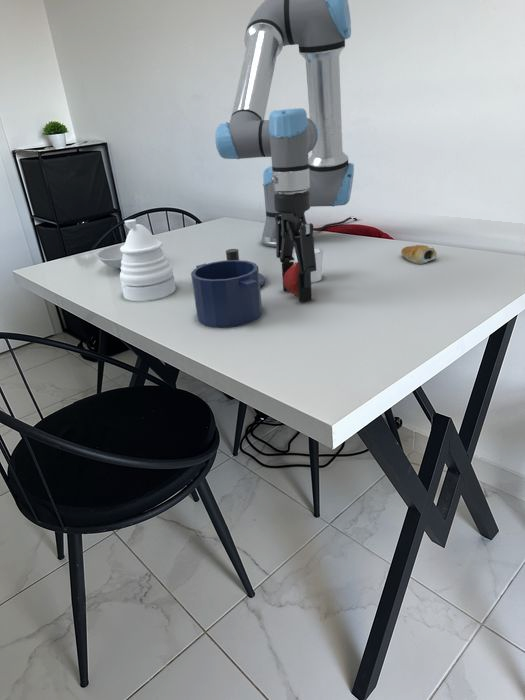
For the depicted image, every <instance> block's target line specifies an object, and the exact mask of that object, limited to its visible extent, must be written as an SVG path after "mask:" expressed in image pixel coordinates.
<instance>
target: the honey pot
mask: <svg viewBox="0 0 525 700" xmlns="http://www.w3.org/2000/svg"><path fill="white" fill-rule="evenodd" d="M124 225H125V226H126V228H127V229H129V230H128V234H127V235H126V239H125V242H124V244H125V245H123V246H121V248H120V251H121V252H122V253H123V257H122V261H121V264H122V266H121V268H120V273H119V279H120V280H119V281H120V285H121V291H122V295H123V298H124V299H126V300H127V301H130V302H131V301H133V302H148V301H153V300H159V299H162V298H165V297H168V296H170V295H171V294H173V293H174V292H175V291H176V288H177V286H176V281H175V276H174V269H173V267H172V265H171V264H170V263H169V260H168V259H167V255H166V253H164V251H163V249H162V247H163V242H162V241H160V240H159V239H156V238H155V236H154V235H153V233H152V232H151V231H150V230H149V229H148V228H147V227H145V225H143V224H140V223H137V220H136V219H127V220H124Z"/></svg>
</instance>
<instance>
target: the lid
mask: <svg viewBox="0 0 525 700" xmlns="http://www.w3.org/2000/svg"><path fill="white" fill-rule="evenodd" d="M225 256H226V260H240V255H239V249H237V248H229V249H226V250H225ZM265 280H266V278H265V275H264V274H262V273H260V272H259V281H260V286H262V285H263V284H264V283H265V282H266V281H265Z"/></svg>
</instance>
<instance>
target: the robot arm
mask: <svg viewBox="0 0 525 700" xmlns="http://www.w3.org/2000/svg"><path fill="white" fill-rule="evenodd" d="M351 36H352V22H351V13H350V6H349V0H263V1H262V3H261V4H260V5H259V6H258V7H257V9H256V10H255V11H254V12H253V14H252V16H251V17H250V19H249V21H248V23H247V26H246V29H245V34H244V41H243V42H244V46H245V53H244V58H243V61H242V65H241V70H240V71H241V72H240V75H239V80H238V85H237V89H236V95H235V98H234V102H233V107H232V111H231V116H230V120H229V122H227V121H226V122H224V123H219V124H218V125H217V127H216V129H215V135H214V136H215V137H214V142H215V147H216V150H217V152H218V155H219V156H220V157H221V158H222V159H224V160H241V159H255V158H256V159H257V158H271V166H268V167H266V168H265V169H264V171H263V174H262V176H263V177H262V178H263V184H262V186H263V195H264V196H263V197H264V206H265V222H264V225H263V231H262V235H261V243H262V245H264V246H266V247H271V248H276V258H277V259H279V262H280V263H281V275H282V290H283V292H289V291H288V290H287V289H286V288H285V286H284V275H285V273H286V271H287V270H288V269H289V268H290V267H291V266H292V265H293V264H294V263H295V262H294V261H295V258H294V256H293V254H294V253H293V251H296V256H297V261H298V265H299V270H300V271H298V272H297V274H298V288H299V296H298V301H299V302H300V303H304V302H308V301H311V300H312V299H313V298H312V282H311V272H312V271H316V260H315V251H314V248H315V242H314V232H320V231H322V230H324V229H326V228H328V227H332V226H338V225H342V224H344V223H346V222H348V221H350V220H354V221H358V219H357V217H355V218H353V219H352V218H351V217H352V216H349V217H347V218H346V219H344V220H341V221H338V222H330V223H327V224H324V225H323V226H321V227H319V228H314V224H313V223H312V222H310V223H308V222H307V220H306V216H305V214H306V212H307V211H309V210H310V209H311V208H312V207H333V208H334V207H338V206H346V205H347V204H348V203H349V202H350V199H351V196H352V195H351V194H352V189H353V182H354V174H355V173H354V172H355V164H354V163H351V162H349V155H347V154H346V152H344V151H343V125H342V123H343V122H342V121H343V120H342V100H341V99H342V97H341V96H342V95H341V94H342V92H341V66H340V55H341V53H342V52H343V51H344V49H345V48H346V40H348V39H350V38H351ZM294 45H297V46H298V54H299V55H300V56H301V57H303V59H304V60H305V71H306V85H307V97H308V98H307V100H308V101H307V102H308V114H307V111H306V109H305V108H302V107H301V108H300V107H299V108H285V109H277V110H272V111H271V112H270V113H269V115H268V119H265V117H266V111H267V106H268V101H269V97H270V93H271V87H272V81H273V76H274V70H275V67H276V62H277V57H278V56H279V55H280V54H281V52H282V50H283V48H284V47H286V46H294ZM308 115H309V116H308ZM310 152H311V155H310V156H309V153H310Z"/></svg>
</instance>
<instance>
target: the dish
mask: <svg viewBox="0 0 525 700" xmlns="http://www.w3.org/2000/svg"><path fill="white" fill-rule="evenodd" d="M123 245H125V243H120V244H115V245H111V246H108V247H105V248H102V249H100V250H99V251H97V253H95V258H96V259H98V260H100V261H101V262H102V263H103V264H105V265H107V266H108V267H111V268H115V269H116V268H117V269H121V266H122V264H121V261H122V257H123V253H122V252H121V251H120V248H121V246H123Z"/></svg>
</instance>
